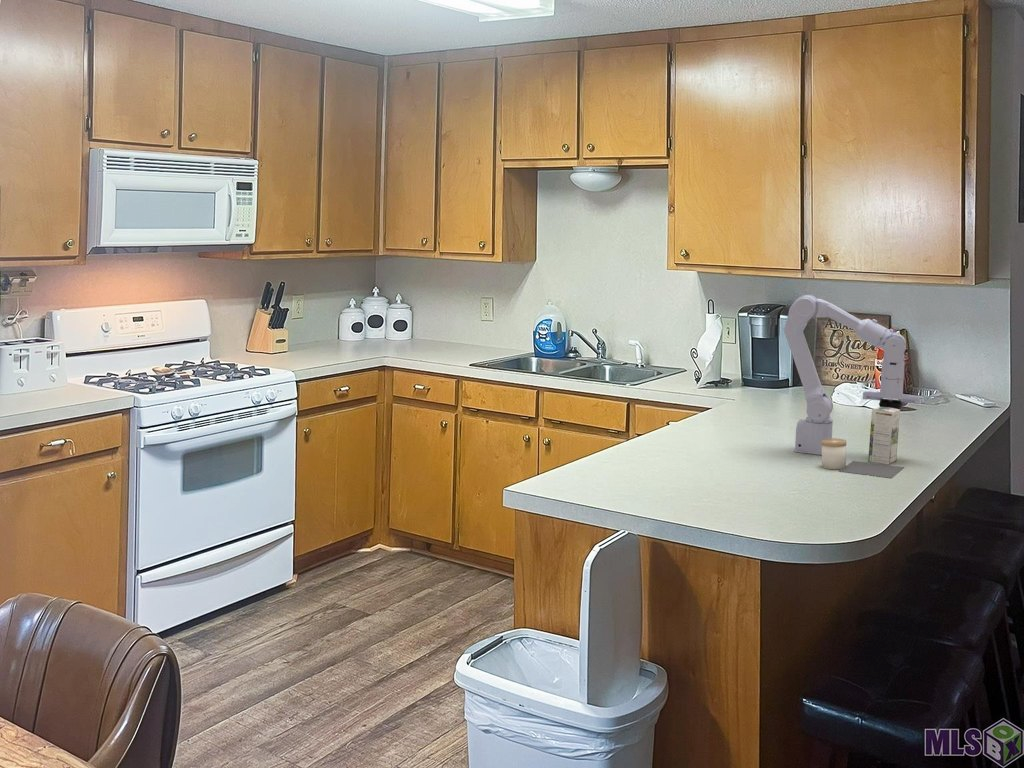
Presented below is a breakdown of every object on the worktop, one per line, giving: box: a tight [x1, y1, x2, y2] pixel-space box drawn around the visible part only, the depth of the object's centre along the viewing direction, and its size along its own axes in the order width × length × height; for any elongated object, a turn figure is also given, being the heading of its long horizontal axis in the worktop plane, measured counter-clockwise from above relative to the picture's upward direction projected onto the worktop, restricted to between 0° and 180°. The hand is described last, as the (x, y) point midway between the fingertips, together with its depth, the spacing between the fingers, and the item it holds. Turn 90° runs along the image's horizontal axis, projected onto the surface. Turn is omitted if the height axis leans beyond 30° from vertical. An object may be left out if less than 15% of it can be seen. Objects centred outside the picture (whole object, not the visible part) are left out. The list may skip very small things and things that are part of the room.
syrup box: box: [867, 406, 901, 465], centre depth 264 cm, size 6×6×14 cm
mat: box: [838, 460, 905, 479], centre depth 256 cm, size 13×14×1 cm
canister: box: [821, 437, 847, 470], centre depth 258 cm, size 6×6×7 cm
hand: (889, 427), depth 269 cm, fingers closed
